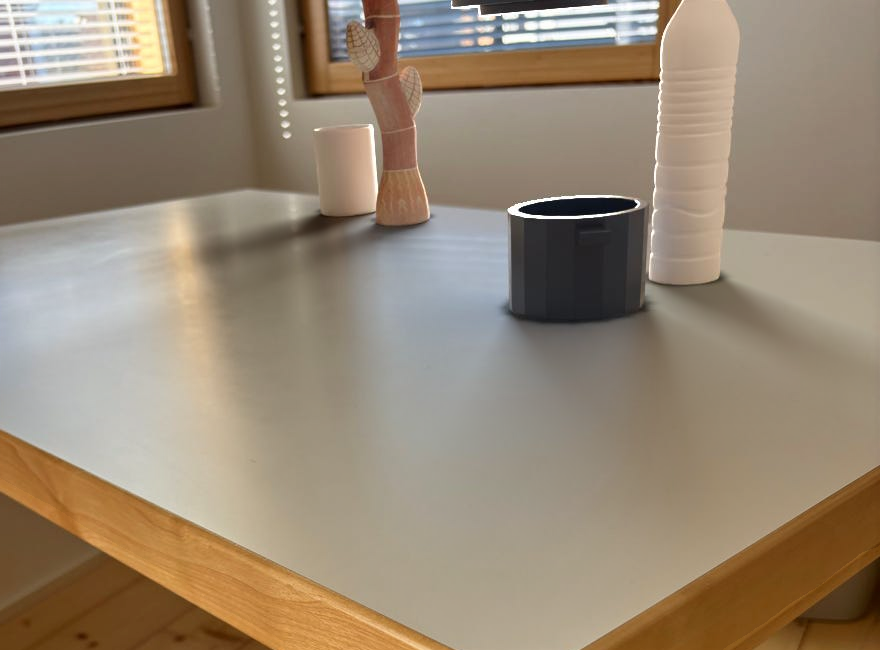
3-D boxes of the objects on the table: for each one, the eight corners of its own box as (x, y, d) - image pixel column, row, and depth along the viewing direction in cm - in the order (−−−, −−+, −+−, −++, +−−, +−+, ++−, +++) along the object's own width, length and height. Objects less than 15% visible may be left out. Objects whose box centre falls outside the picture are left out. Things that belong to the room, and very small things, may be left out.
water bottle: (716, 288, 94) (743, -38, 81) (643, 287, 96) (659, -30, 84) (724, 268, 101) (750, -35, 88) (656, 268, 103) (673, -28, 91)
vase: (421, 213, 143) (407, -44, 128) (442, 220, 137) (430, -50, 122) (350, 223, 140) (327, -40, 125) (368, 230, 134) (346, -45, 119)
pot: (621, 283, 98) (625, 187, 94) (664, 328, 84) (671, 217, 79) (500, 292, 99) (498, 197, 94) (522, 338, 84) (521, 228, 80)
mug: (387, 211, 147) (381, 126, 141) (329, 218, 145) (321, 132, 139) (362, 202, 157) (356, 121, 151) (308, 208, 155) (300, 127, 149)
